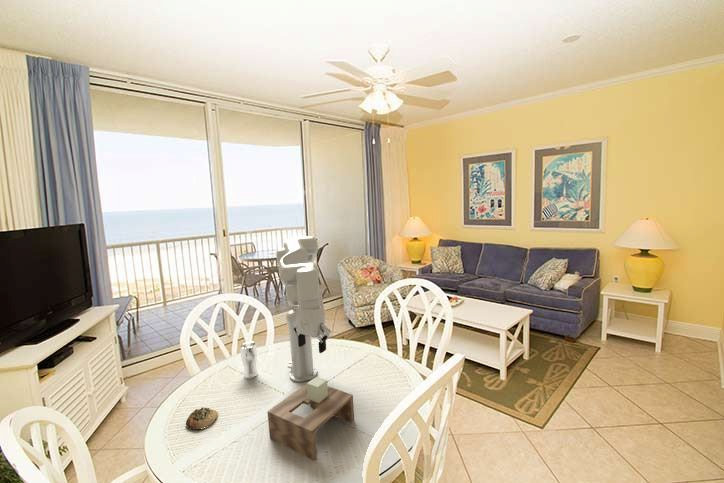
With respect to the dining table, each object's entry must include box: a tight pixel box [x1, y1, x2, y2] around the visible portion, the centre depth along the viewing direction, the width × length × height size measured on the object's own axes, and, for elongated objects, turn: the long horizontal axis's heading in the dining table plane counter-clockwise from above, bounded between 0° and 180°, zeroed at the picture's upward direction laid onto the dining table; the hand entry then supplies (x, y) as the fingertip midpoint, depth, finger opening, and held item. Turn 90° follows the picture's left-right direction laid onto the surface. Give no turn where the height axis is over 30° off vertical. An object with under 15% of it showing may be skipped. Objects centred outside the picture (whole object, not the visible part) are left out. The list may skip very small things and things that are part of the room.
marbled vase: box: [240, 341, 259, 379], centre depth 159 cm, size 7×7×15 cm
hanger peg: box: [306, 376, 328, 403], centre depth 123 cm, size 5×5×13 cm
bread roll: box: [185, 407, 219, 430], centre depth 128 cm, size 11×11×5 cm
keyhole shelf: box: [266, 383, 355, 462], centre depth 120 cm, size 20×22×10 cm
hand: (312, 348), depth 123 cm, fingers open, 9 cm apart
